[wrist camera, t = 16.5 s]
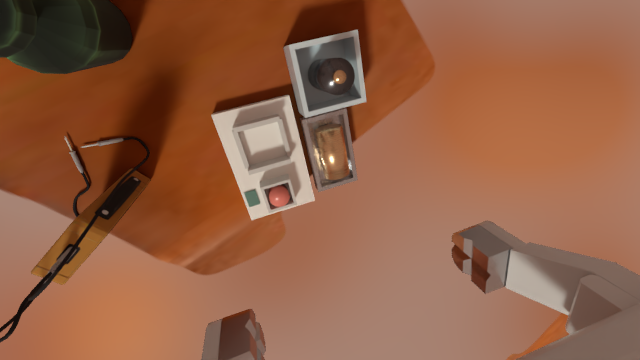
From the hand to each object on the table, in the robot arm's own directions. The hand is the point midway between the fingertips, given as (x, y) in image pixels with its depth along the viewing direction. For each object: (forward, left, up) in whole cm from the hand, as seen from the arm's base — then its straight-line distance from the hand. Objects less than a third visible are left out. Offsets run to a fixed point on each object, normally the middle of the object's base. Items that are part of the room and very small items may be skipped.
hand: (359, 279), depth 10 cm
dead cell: (-5, +7, -29) cm, 31 cm away
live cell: (+5, +6, -29) cm, 30 cm away
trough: (+6, +6, -30) cm, 31 cm away
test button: (+9, -3, -28) cm, 29 cm away
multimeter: (+1, -24, -30) cm, 38 cm away
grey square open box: (-5, +7, -30) cm, 31 cm away
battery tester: (+5, -3, -30) cm, 30 cm away
